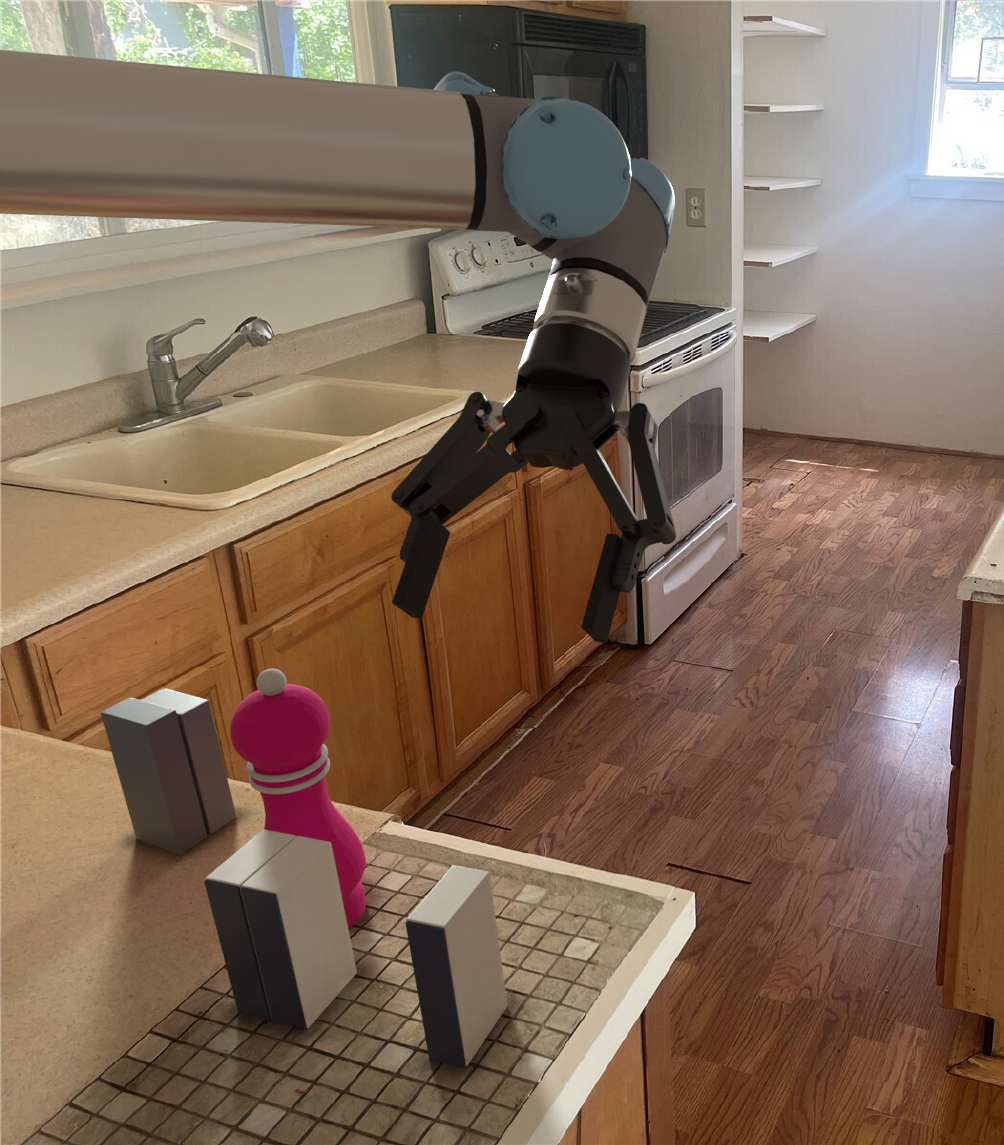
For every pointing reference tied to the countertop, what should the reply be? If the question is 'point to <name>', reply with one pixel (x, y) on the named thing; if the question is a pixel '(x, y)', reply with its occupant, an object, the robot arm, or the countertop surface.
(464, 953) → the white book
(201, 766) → the grey books
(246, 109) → the robot arm
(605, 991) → the countertop surface
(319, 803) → the pepper mill
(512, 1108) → the countertop surface
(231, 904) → the grey tall block
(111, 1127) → the countertop surface
